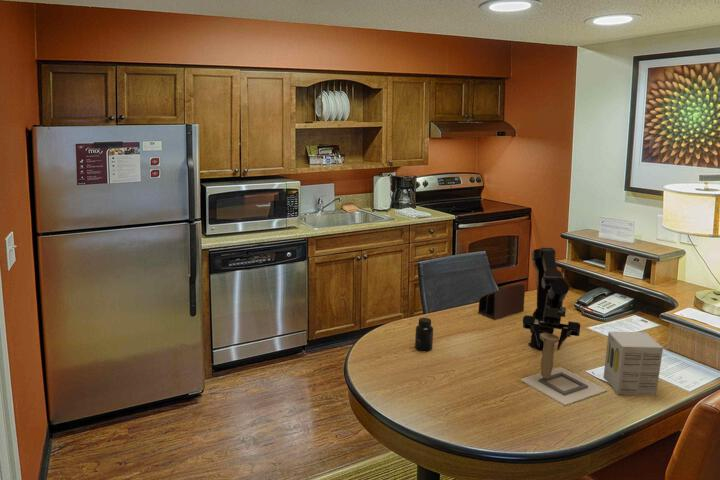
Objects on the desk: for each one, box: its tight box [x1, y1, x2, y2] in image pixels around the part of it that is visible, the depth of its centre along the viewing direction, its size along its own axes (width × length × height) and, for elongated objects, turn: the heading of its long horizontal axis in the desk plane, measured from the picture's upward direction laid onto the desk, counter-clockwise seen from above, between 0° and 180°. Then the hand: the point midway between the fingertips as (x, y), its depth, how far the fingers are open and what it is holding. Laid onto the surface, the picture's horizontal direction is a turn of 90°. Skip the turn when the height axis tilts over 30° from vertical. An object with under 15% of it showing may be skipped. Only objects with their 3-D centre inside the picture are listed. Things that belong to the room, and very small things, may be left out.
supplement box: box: [603, 331, 664, 396], centre depth 199 cm, size 13×13×18 cm
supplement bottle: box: [414, 317, 434, 352], centre depth 228 cm, size 7×7×12 cm
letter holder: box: [477, 283, 526, 321], centre depth 268 cm, size 10×20×14 cm, turn 125°
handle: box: [540, 333, 560, 378], centre depth 200 cm, size 5×6×15 cm
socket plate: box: [519, 366, 608, 407], centre depth 200 cm, size 20×20×1 cm
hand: (548, 348), depth 198 cm, fingers closed on handle, 6 cm apart
